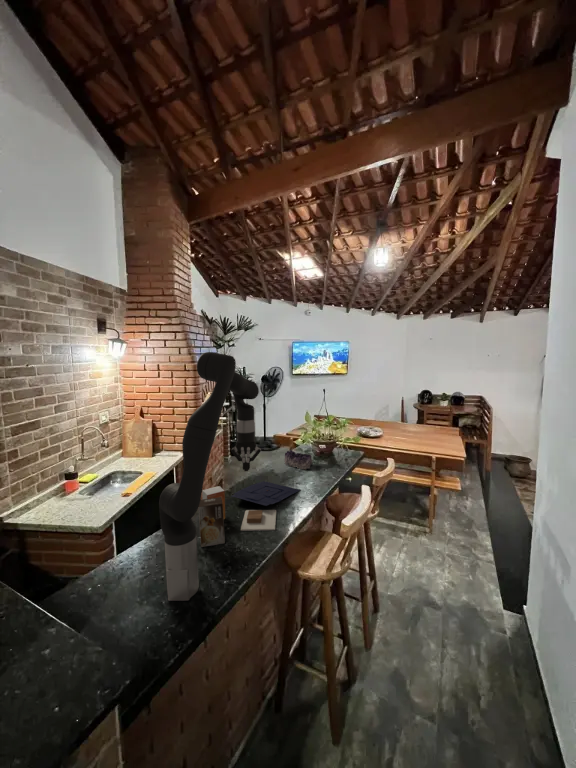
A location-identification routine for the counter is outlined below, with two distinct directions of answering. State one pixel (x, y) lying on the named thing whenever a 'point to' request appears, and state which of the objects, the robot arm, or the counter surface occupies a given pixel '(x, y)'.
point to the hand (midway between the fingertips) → (246, 470)
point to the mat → (265, 524)
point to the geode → (298, 460)
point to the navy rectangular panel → (265, 493)
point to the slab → (254, 516)
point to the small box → (215, 495)
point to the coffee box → (211, 522)
